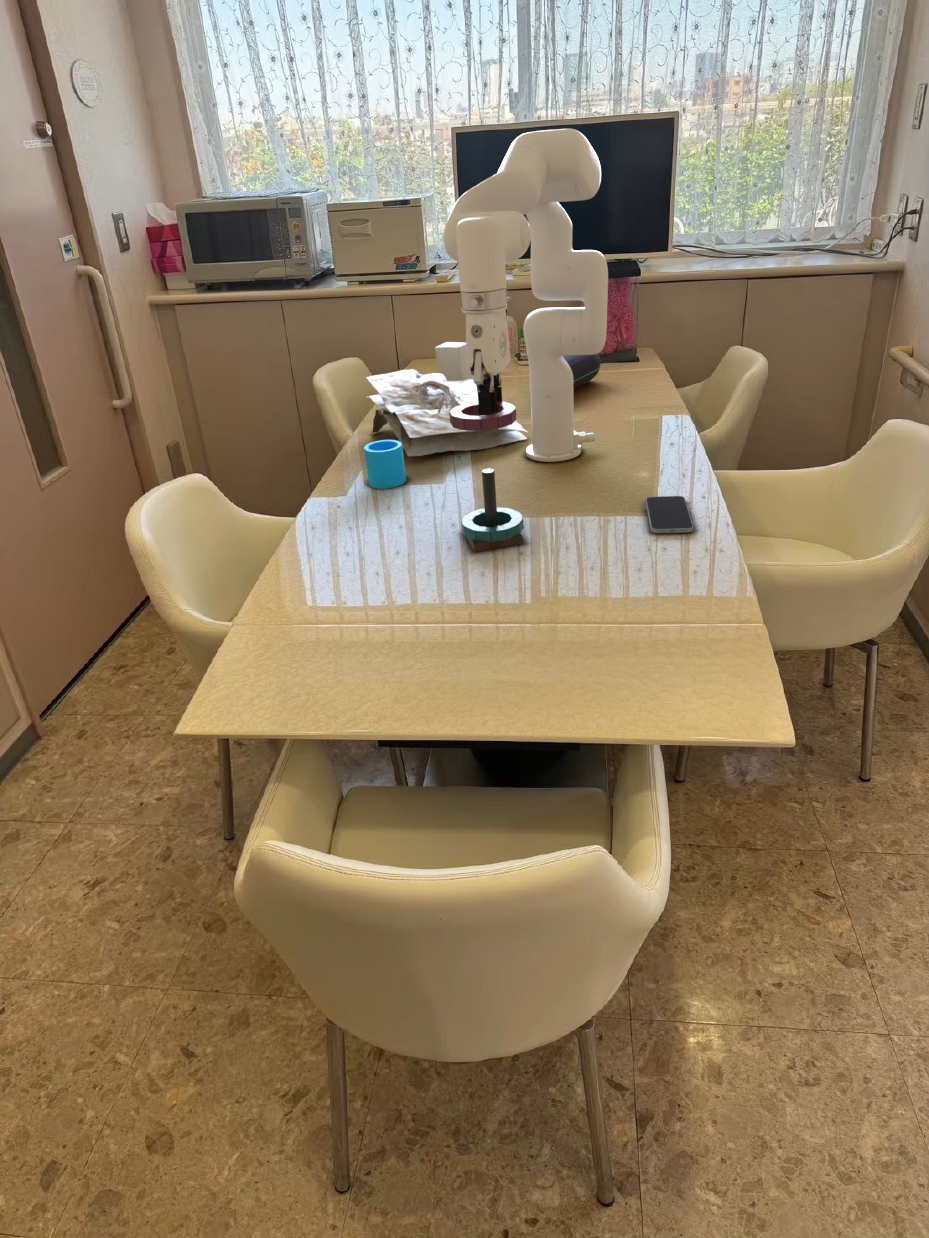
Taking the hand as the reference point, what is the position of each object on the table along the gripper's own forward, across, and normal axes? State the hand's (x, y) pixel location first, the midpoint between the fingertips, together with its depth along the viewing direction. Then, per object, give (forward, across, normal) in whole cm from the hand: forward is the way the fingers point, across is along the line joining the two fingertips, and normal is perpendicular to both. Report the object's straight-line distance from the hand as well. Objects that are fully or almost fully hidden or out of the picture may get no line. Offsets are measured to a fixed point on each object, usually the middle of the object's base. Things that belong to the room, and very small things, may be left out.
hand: (490, 411), depth 144 cm
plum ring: (0, -4, 0) cm, 4 cm away
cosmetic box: (+22, +85, +38) cm, 96 cm away
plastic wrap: (+22, +54, +30) cm, 66 cm away
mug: (+22, +23, +32) cm, 45 cm away
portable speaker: (+22, +97, +9) cm, 100 cm away
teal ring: (+21, -4, 0) cm, 21 cm away
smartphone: (+22, +10, -30) cm, 39 cm away
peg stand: (+22, -4, 0) cm, 23 cm away
